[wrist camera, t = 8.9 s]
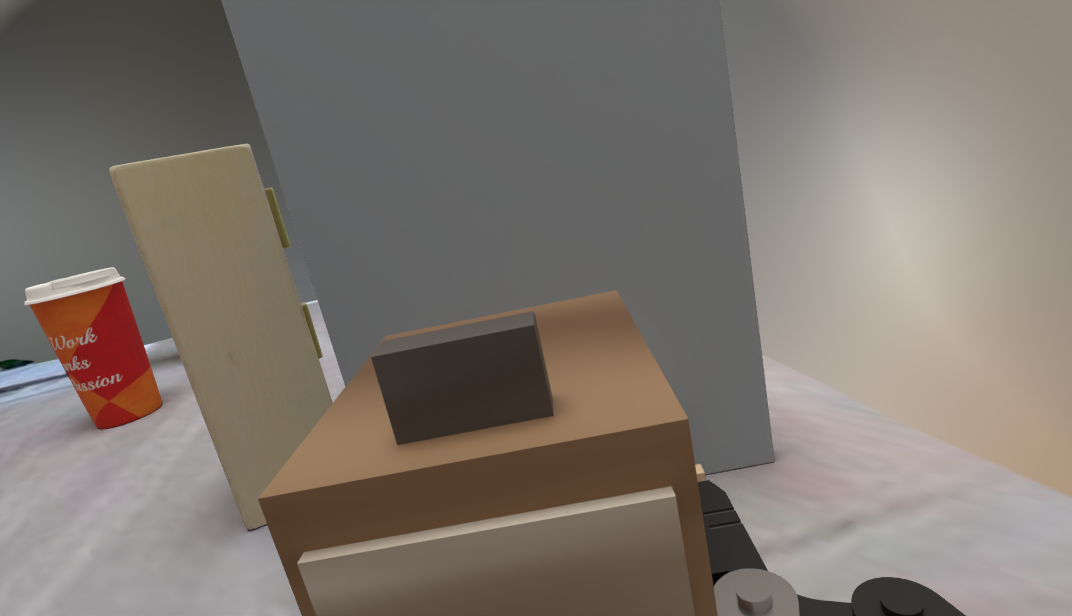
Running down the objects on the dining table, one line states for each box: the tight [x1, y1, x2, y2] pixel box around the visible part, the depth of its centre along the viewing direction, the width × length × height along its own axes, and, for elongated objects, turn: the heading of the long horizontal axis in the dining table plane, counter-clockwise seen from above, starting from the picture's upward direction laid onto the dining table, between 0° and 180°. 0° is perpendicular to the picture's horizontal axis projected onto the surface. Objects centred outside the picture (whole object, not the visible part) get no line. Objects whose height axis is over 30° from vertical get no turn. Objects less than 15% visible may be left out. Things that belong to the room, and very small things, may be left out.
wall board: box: [222, 0, 775, 482], centre depth 27 cm, size 15×20×26 cm
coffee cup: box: [25, 268, 162, 429], centre depth 59 cm, size 8×8×15 cm
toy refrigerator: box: [110, 144, 333, 530], centre depth 36 cm, size 8×7×21 cm
